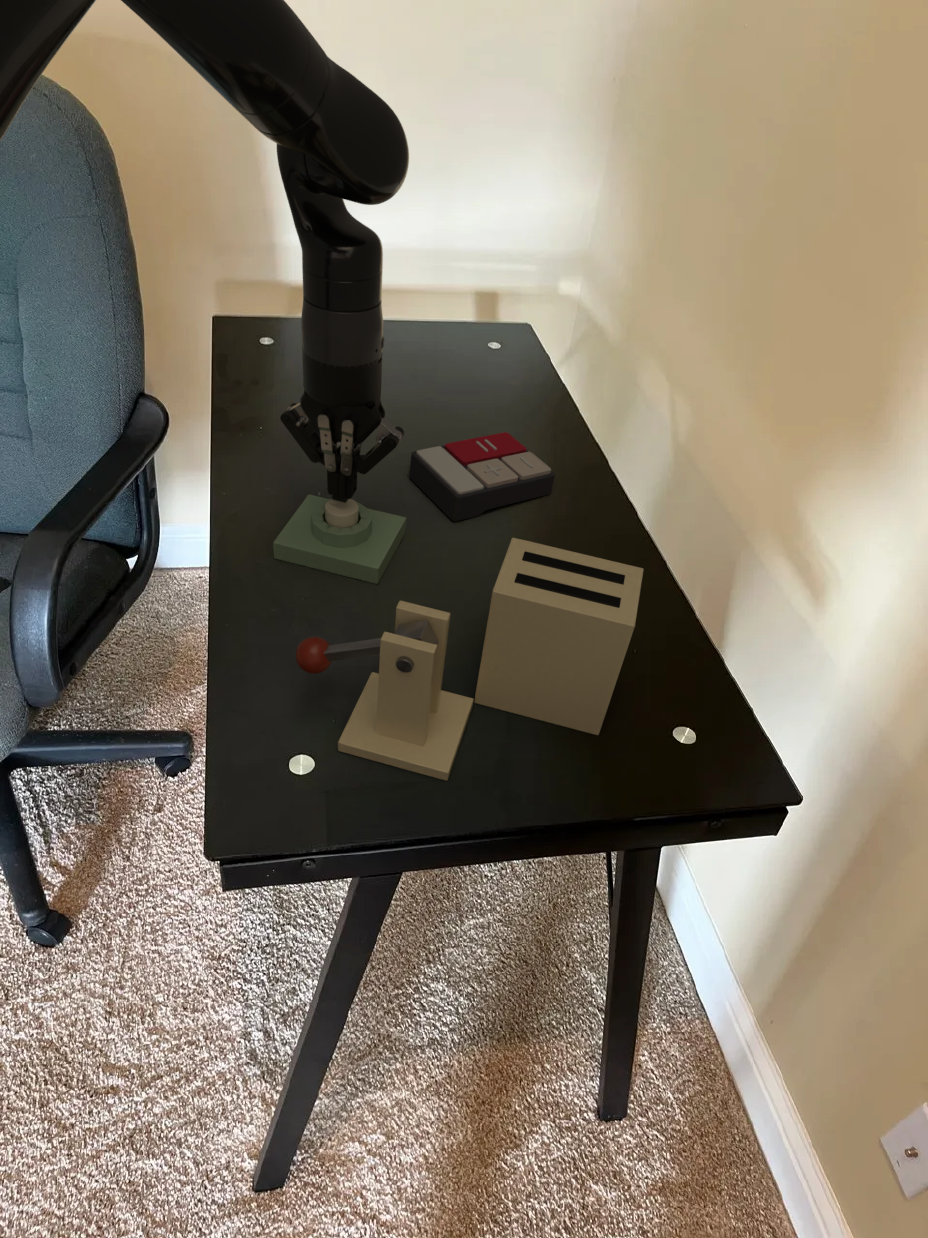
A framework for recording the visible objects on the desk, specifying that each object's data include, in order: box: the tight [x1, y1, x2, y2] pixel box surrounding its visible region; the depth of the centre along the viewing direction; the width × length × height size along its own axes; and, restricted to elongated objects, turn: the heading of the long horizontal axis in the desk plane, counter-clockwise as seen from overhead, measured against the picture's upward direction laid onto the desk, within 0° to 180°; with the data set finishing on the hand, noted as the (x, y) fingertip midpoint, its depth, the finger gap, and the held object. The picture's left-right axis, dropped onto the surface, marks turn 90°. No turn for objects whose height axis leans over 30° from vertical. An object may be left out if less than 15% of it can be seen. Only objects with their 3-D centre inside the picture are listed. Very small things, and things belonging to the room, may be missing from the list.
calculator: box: [408, 431, 556, 522], centre depth 104 cm, size 11×4×15 cm
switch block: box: [272, 493, 407, 585], centre depth 92 cm, size 12×10×4 cm
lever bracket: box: [337, 600, 475, 782], centre depth 71 cm, size 10×9×13 cm
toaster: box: [473, 537, 644, 736], centre depth 75 cm, size 12×8×14 cm, turn 76°
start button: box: [325, 498, 358, 528], centre depth 90 cm, size 4×4×2 cm
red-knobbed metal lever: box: [295, 620, 439, 675], centre depth 70 cm, size 13×3×3 cm, turn 73°
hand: (342, 497), depth 89 cm, fingers closed
